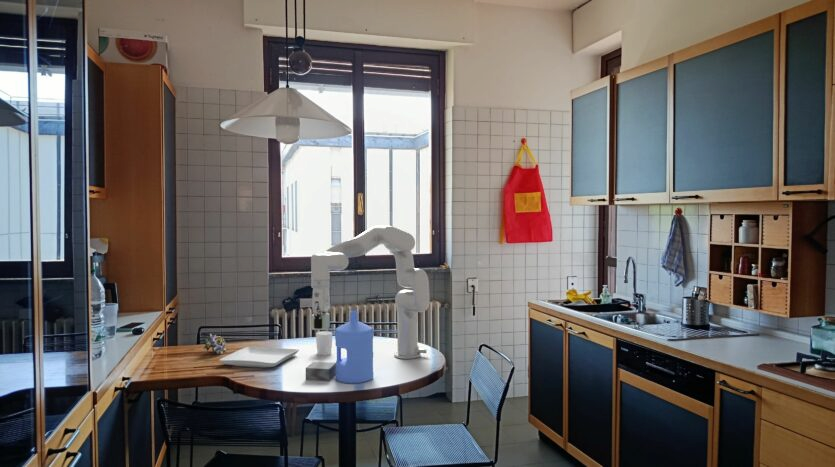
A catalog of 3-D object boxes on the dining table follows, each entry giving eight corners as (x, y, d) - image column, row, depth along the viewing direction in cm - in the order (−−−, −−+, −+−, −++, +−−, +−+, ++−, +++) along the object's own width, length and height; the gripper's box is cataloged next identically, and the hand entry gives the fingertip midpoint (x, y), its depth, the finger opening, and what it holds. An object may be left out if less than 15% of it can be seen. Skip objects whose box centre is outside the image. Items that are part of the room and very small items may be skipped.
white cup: (334, 351, 290) (334, 331, 290) (330, 355, 282) (330, 334, 282) (318, 351, 291) (318, 331, 290) (314, 355, 283) (314, 334, 283)
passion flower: (220, 365, 285) (218, 348, 278) (199, 360, 286) (196, 344, 278) (230, 347, 294) (228, 331, 287) (209, 343, 295) (207, 327, 287)
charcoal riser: (336, 374, 250) (336, 362, 249) (329, 381, 240) (329, 368, 240) (313, 373, 251) (313, 361, 251) (305, 380, 241) (305, 368, 241)
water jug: (374, 373, 251) (373, 308, 250) (372, 384, 236) (372, 314, 235) (337, 373, 251) (337, 308, 250) (333, 384, 235) (332, 314, 234)
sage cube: (329, 327, 247) (329, 313, 247) (325, 330, 241) (325, 315, 241) (315, 326, 248) (315, 312, 248) (311, 329, 242) (311, 315, 242)
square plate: (275, 371, 256) (275, 362, 256) (218, 367, 262) (217, 359, 262) (299, 356, 283) (299, 347, 283) (247, 353, 288) (247, 345, 288)
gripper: (322, 286, 235) (323, 331, 235) (335, 281, 252) (335, 323, 253) (304, 286, 236) (305, 330, 237) (318, 281, 253) (318, 322, 254)
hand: (320, 326), depth 245 cm, fingers closed on sage cube, 6 cm apart
